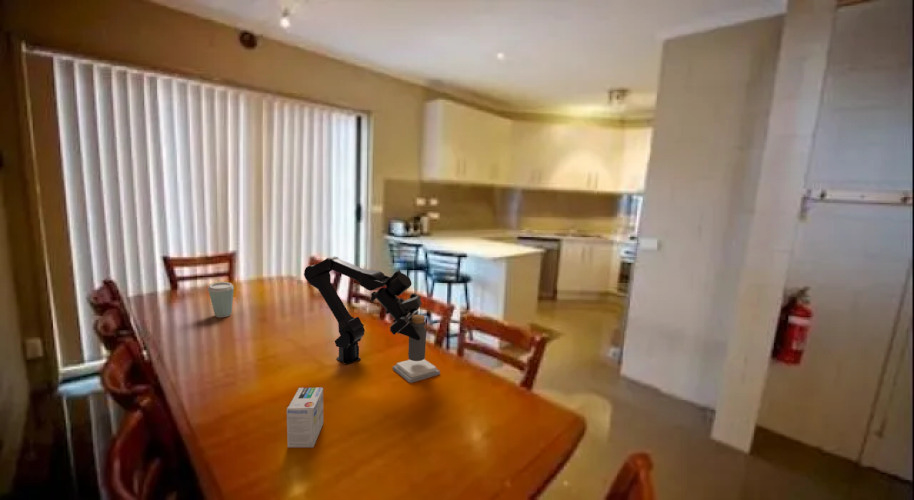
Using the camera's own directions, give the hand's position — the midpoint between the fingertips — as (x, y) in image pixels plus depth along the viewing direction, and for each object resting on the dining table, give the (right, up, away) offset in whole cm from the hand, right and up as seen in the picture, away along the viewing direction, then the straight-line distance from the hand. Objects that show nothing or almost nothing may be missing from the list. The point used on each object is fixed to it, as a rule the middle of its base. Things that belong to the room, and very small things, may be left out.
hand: (421, 336), depth 145 cm
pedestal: (-2, -13, +2) cm, 13 cm away
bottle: (-2, -8, +2) cm, 8 cm away
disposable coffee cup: (-97, -1, +50) cm, 109 cm away
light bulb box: (-27, -19, -36) cm, 48 cm away
